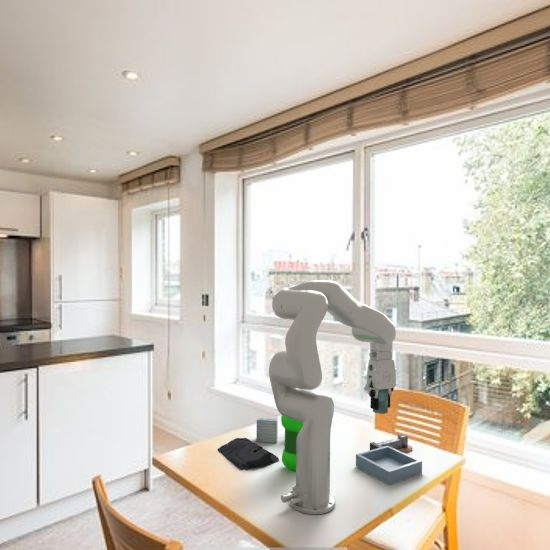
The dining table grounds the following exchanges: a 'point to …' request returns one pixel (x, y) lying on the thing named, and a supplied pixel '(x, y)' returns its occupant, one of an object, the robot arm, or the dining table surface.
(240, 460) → the dark slate chunk
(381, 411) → the teal cylinder
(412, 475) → the tray
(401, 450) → the crank base
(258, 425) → the medicine box
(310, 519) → the dining table surface
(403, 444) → the crank lever
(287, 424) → the plastic bottle
